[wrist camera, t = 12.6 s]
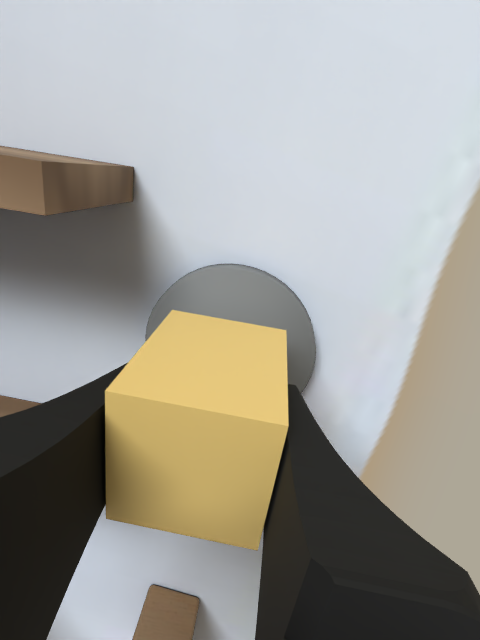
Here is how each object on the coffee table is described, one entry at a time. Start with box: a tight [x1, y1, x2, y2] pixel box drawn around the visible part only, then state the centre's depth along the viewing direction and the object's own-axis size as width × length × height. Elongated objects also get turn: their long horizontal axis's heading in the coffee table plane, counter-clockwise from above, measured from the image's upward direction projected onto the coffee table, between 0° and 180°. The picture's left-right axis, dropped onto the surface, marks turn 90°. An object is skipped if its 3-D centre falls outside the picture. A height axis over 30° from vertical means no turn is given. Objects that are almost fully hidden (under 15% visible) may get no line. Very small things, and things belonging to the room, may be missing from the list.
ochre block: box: [105, 310, 289, 551], centre depth 11 cm, size 4×4×5 cm
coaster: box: [146, 264, 316, 393], centre depth 15 cm, size 7×7×1 cm
